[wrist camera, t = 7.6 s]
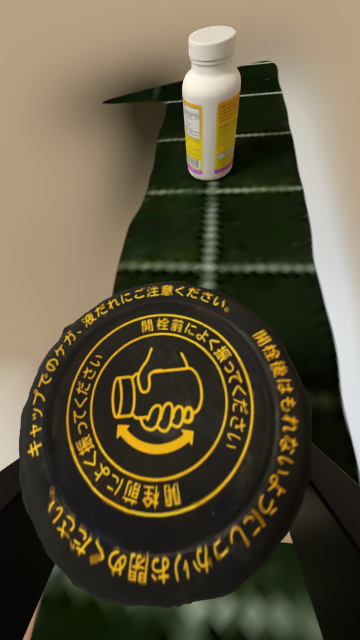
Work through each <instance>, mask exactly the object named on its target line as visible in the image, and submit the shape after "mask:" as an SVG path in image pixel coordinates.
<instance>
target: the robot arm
mask: <svg viewBox="0 0 360 640" xmlns="http://www.w3.org/2000/svg"><path fill="white" fill-rule="evenodd" d="M311 445H312V455H313V467H312V471H311V474H310V479H309V483H308V486H307V488H306V491H305V495H304V500H303V504H302V506H301V508H300V510H299V513H298V515H297V517H296V519H295V521H294V523H293V525H292V526H291V528H290V530H289V533H290V536H291V539H292V542H293V545H294V548H295V551H296V555H297V558H298V561H299V564H300V567H301V570H302V573H303V576H304V580H305V583H306V586H307V589H308V592H309V595H310V598H311V602H312V605H313V608H314V611H315V614H316V617H317V620H318V623H319V627H320V630H321V633H322V636H323V639H324V640H360V486H359V485H358V484H357V483H356V482H355V481H354V480H353V479H352V478H351V477H349V476H348V475H347V474H346V473H345V472H344V471H343V470H342V469H341V468H340V467H338V466H337V465H336V464H335V463H334V462H333V461H332V460H331V459H330V458H329V457H327V456H326V455H325V454H324V453H323V452H322V451H321V450H320V449H319V448H317V447H316V446H315V445H314V444H313V443H312V442H311ZM19 475H20V458H19V459H17V460H16V461H14V462H13V463H11V464H10V465H9V466H7V467H6V468H4V469H3V470H1V471H0V640H23V638H24V635H25V633H26V630H27V628H28V626H29V623H30V621H31V619H32V616H33V614H34V612H35V609H36V607H37V605H38V602H39V600H40V598H41V595H42V593H43V591H44V588H45V586H46V584H47V581H48V579H49V577H50V574H51V572H52V570H53V567H54V565H55V563H54V562H53V561H52V560H51V558H50V557H49V556H48V555H47V553H46V551H45V549H44V547H43V544H42V542H41V540H40V538H39V536H38V535H37V532H36V529H35V526H34V524H33V522H32V520H31V518H30V516H29V514H28V512H27V510H26V508H25V505H24V503H23V500H22V490H21V485H20V477H19Z"/></svg>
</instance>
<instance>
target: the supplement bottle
mask: <svg viewBox="0 0 360 640" xmlns="http://www.w3.org/2000/svg"><path fill="white" fill-rule="evenodd" d="M235 40H236V32H235V30H234V29H233V28H231V27H228V26H212V27H207V28H203V29H200V30H197V31H195V32H194V33H192V34H191V35H190V37H189V56H190V59H191V62H192V69H191V70H190V71H189V72H188V73H187V74H186V76H185V79H184V81H183V87H182V91H183V106H184V121H185V136H186V151H187V164H188V170H189V172H190V174H191V175H192V176H193V177H195V178H197V179H200V180H216V179H219V178H222V177H223V176H225V175H226V174H227V173H228V172H229V171H230V169H231V167H232V163H233V154H234V144H235V135H236V125H237V115H238V105H239V96H240V85H241V77H240V73H239V71H238V69H237V68H236V67H235V66H234V65H232V56H233V52H234V50H235Z"/></svg>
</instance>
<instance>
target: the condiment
mask: <svg viewBox="0 0 360 640" xmlns="http://www.w3.org/2000/svg"><path fill="white" fill-rule="evenodd" d="M311 419H312V406H311V402H310V398H309V396H308V394H307V392H306V390H305V388H304V386H303V384H302V382H301V380H300V378H299V375H298V373H297V371H296V369H295V366H294V364H293V362H292V361H291V359H290V357H289V355H288V353H287V351H286V349H285V346H284V343H283V342H282V341H281V339H280V338H279V337H278V336H277V335H276V334H275V333H274V331H273V330H272V329H271V328H270V327H269V326H268V325H267V324H266V323H265V322H263V321H262V320H261V319H260V318H258V317H257V316H256V315H255V314H254V313H253V312H252V311H251V310H250V309H249V308H246V307H244V306H243V305H241V304H240V303H239V302H237V301H236V300H235V299H233V298H231V297H229V296H228V295H226V294H225V293H223V292H220V291H216V290H211V289H205V288H201V287H197V286H194V285H191V284H188V283H186V282H179V281H169V282H160V283H152V284H147V285H143V286H139V287H134V288H131V289H128V290H125V291H122V292H120V293H117V294H115V295H113V296H112V297H110V298H108V299H106V300H104V301H102V302H101V303H100V304H98V305H97V306H96V307H94V308H93V309H91V310H90V311H89V312H87V313H85V314H84V315H83V316H82V317H81V318H79V319H78V320H77V321H75V323H73V324H71V325H69V326H67V327H65V328H64V330H63V333H62V336H61V338H60V339H59V341H58V342H57V343H56V344H55V345H54V346H53V347H52V348H51V350H50V351H49V352H48V354H47V355H46V357H45V358H44V360H43V362H42V363H41V365H40V367H39V370H38V373H37V375H36V377H35V379H34V382H33V385H32V387H31V390H30V393H29V398H28V400H27V402H26V404H25V406H24V408H23V411H22V415H21V428H20V437H19V455H20V475H19V477H20V485H21V490H22V500H23V503H24V505H25V508H26V510H27V512H28V514H29V516H30V518H31V520H32V522H33V524H34V526H35V529H36V532H37V535H38V536H39V538H40V540H41V542H42V544H43V547H44V549H45V551H46V553H47V555H48V556H49V557H50V558H51V560H52V561H53V562H54V563H55V564H56V565H57V566H58V567H59V568H60V569H61V570H62V571H63V572H64V573H65V574H66V576H67V577H68V578H69V579H70V580H71V582H72V583H73V585H74V586H76V587H78V588H80V589H83V590H85V591H87V592H89V593H91V594H93V595H94V596H96V597H97V598H99V599H100V600H101V601H103V602H104V603H112V604H121V605H125V606H136V605H145V606H158V607H165V608H168V607H172V606H176V607H179V606H181V605H183V604H191V603H192V602H195V601H201V600H207V599H213V598H218V597H223V596H225V595H228V594H230V593H232V592H233V591H235V590H236V589H238V588H239V587H240V585H241V584H242V583H243V582H244V581H245V580H246V579H248V578H249V577H251V576H252V575H253V574H254V573H255V572H256V571H257V570H258V569H259V568H260V567H261V566H263V565H264V564H265V563H266V561H267V560H268V559H269V557H270V556H271V554H272V553H273V552H274V550H275V549H276V547H277V546H278V544H279V543H280V542H281V541H282V540H283V539H284V538H285V536H286V535H287V534H288V532H289V530H290V528H291V526H292V525H293V523H294V521H295V519H296V517H297V515H298V513H299V510H300V508H301V506H302V504H303V500H304V495H305V491H306V488H307V486H308V483H309V479H310V474H311V471H312V467H313V455H312V445H311V441H312V425H311Z"/></svg>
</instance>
